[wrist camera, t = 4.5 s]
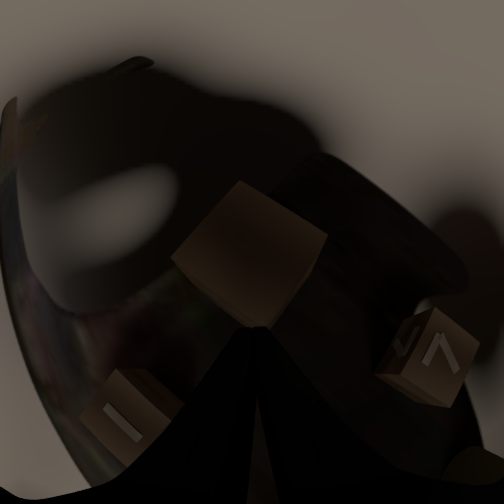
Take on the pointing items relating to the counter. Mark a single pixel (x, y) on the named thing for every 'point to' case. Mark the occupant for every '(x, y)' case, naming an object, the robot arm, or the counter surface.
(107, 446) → the walnut cube
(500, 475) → the cork
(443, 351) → the walnut cube
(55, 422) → the counter surface
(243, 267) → the plain walnut block
